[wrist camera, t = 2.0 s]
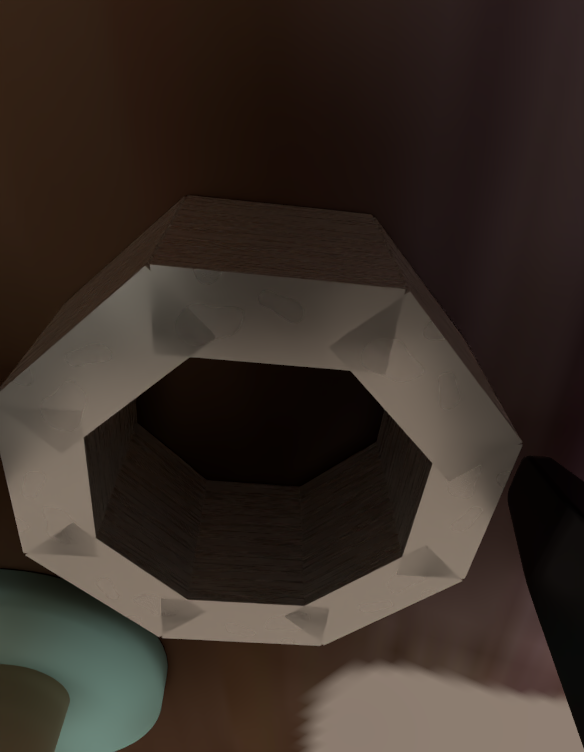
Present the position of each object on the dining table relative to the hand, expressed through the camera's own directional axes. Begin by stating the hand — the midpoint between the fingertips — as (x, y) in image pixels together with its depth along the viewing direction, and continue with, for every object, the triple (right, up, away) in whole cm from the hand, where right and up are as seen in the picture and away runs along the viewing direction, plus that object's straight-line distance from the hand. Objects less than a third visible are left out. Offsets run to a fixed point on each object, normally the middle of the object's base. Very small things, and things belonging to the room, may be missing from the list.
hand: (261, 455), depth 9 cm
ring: (0, +1, +2) cm, 2 cm away
